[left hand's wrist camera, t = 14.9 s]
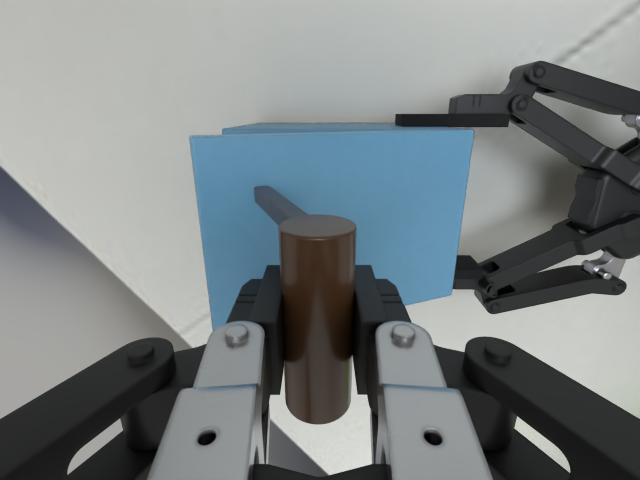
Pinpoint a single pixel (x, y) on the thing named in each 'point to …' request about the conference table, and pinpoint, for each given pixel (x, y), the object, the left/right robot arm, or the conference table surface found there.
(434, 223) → the blue box lid
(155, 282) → the conference table surface
